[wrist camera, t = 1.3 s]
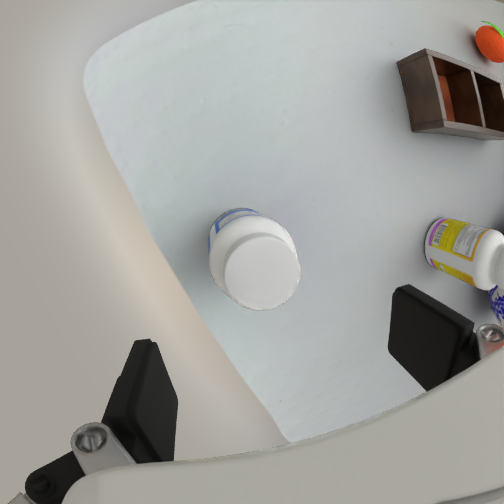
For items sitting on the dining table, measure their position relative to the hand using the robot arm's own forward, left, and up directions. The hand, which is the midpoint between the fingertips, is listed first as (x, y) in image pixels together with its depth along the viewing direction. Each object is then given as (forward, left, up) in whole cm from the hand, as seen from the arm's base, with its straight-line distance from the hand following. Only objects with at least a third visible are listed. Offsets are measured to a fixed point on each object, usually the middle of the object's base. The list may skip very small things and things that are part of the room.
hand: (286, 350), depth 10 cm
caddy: (+2, +34, -18) cm, 38 cm away
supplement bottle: (+16, +21, -18) cm, 31 cm away
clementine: (-3, +53, -18) cm, 56 cm away
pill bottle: (0, +1, -18) cm, 18 cm away
